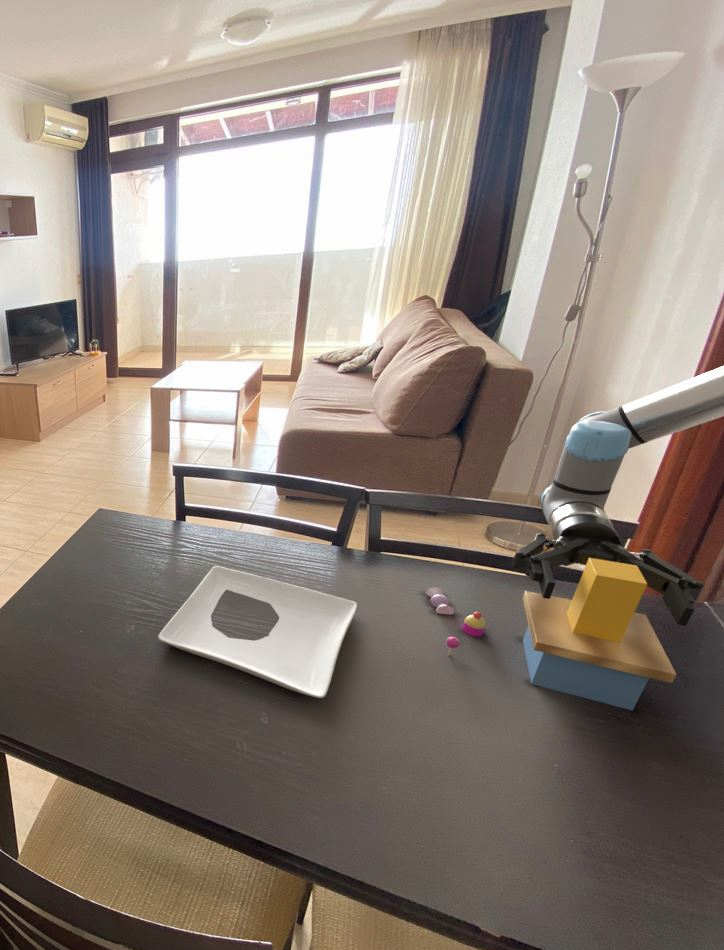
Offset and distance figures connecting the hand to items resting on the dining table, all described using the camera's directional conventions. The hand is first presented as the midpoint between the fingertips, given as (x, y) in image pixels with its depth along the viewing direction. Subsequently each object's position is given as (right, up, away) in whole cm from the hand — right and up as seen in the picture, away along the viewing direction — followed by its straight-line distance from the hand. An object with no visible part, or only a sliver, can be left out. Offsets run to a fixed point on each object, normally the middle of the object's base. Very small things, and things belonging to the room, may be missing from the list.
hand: (614, 603), depth 73 cm
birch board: (+2, -6, +6) cm, 9 cm away
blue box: (+3, -13, +9) cm, 16 cm away
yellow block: (+2, -5, +5) cm, 7 cm away
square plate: (-40, -10, +24) cm, 48 cm away
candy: (-7, -9, +21) cm, 24 cm away
